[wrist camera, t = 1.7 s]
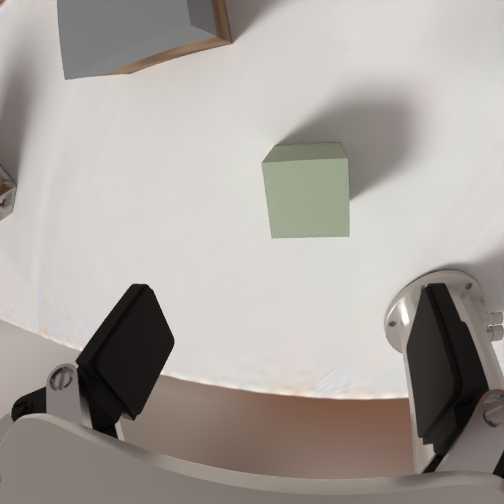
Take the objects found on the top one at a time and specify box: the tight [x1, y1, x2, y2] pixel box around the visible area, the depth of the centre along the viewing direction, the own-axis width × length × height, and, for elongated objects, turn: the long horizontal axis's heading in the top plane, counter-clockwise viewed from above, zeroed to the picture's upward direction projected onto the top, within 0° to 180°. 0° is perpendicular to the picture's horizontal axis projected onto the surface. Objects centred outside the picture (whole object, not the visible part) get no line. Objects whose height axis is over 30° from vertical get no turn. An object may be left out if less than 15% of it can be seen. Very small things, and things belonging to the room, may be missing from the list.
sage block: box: [262, 142, 349, 238], centre depth 22 cm, size 6×6×6 cm
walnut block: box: [105, 0, 232, 75], centre depth 16 cm, size 10×10×4 cm
